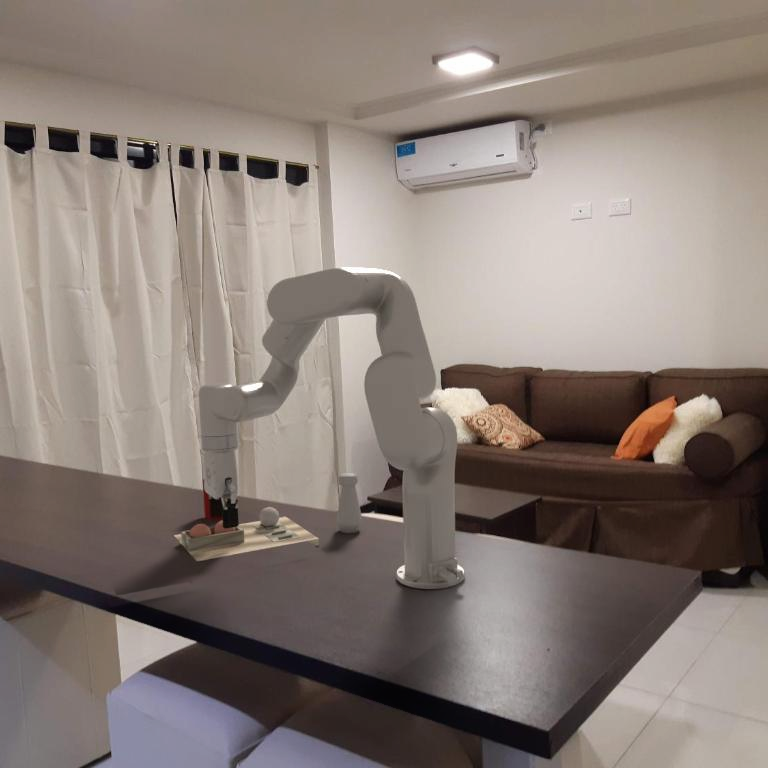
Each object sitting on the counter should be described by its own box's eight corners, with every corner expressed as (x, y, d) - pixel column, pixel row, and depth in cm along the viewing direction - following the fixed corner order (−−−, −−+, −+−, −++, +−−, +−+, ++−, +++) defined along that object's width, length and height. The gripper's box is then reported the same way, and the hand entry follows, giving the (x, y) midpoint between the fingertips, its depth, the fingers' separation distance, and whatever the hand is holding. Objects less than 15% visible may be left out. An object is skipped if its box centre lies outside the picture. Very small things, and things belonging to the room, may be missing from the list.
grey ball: (282, 527, 172) (281, 508, 171) (263, 530, 170) (262, 511, 169) (275, 522, 176) (274, 503, 175) (257, 525, 174) (256, 506, 173)
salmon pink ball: (218, 545, 161) (217, 524, 161) (212, 539, 165) (211, 519, 164) (238, 541, 163) (237, 521, 163) (232, 535, 167) (231, 516, 166)
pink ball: (214, 545, 161) (212, 525, 160) (193, 549, 159) (191, 528, 158) (208, 540, 165) (207, 520, 164) (187, 543, 163) (186, 523, 162)
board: (319, 545, 163) (318, 527, 163) (197, 568, 151) (196, 548, 151) (285, 522, 181) (285, 506, 181) (174, 541, 169) (173, 524, 169)
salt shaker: (351, 536, 169) (349, 478, 168) (331, 532, 173) (329, 475, 171) (367, 529, 174) (365, 472, 173) (348, 525, 177) (346, 470, 176)
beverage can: (230, 525, 180) (227, 475, 179) (201, 526, 181) (199, 475, 179) (236, 517, 187) (234, 468, 186) (209, 517, 187) (206, 469, 186)
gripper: (191, 438, 168) (196, 515, 169) (213, 451, 152) (218, 535, 154) (225, 434, 171) (229, 509, 173) (249, 446, 156) (254, 528, 158)
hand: (224, 521), depth 164 cm, fingers open, 9 cm apart
